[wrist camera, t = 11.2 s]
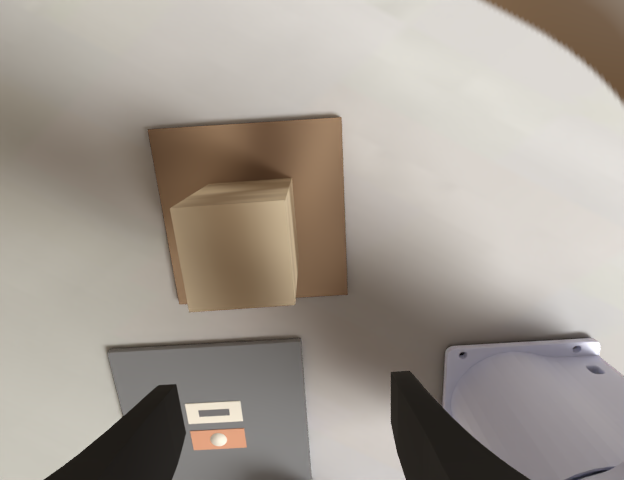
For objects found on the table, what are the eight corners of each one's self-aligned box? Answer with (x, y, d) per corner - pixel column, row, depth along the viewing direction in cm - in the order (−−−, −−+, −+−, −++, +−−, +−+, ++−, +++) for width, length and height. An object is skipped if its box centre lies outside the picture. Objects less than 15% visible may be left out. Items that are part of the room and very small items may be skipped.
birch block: (291, 177, 20) (285, 200, 15) (298, 256, 22) (295, 304, 16) (208, 183, 21) (169, 208, 15) (220, 262, 22) (189, 312, 16)
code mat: (300, 338, 24) (300, 342, 23) (312, 484, 27) (312, 490, 27) (110, 349, 24) (106, 353, 24) (146, 492, 28) (143, 499, 27)
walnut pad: (340, 117, 20) (341, 117, 20) (346, 291, 23) (347, 294, 23) (150, 129, 20) (147, 129, 20) (181, 301, 23) (179, 304, 23)
